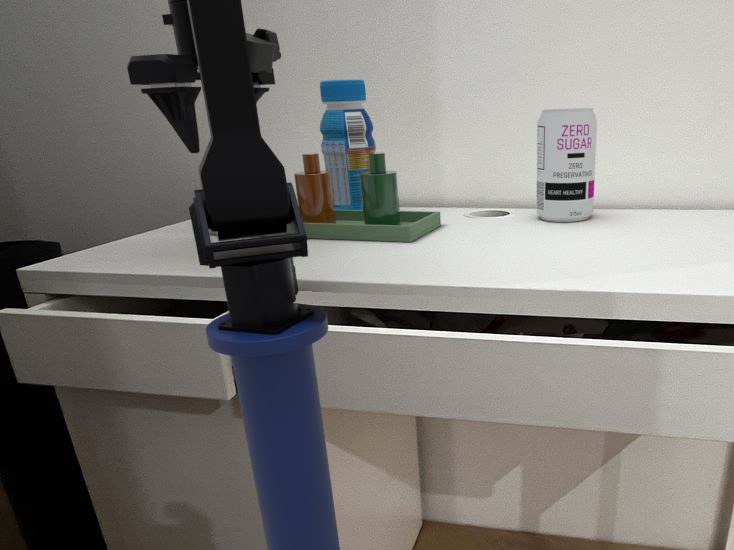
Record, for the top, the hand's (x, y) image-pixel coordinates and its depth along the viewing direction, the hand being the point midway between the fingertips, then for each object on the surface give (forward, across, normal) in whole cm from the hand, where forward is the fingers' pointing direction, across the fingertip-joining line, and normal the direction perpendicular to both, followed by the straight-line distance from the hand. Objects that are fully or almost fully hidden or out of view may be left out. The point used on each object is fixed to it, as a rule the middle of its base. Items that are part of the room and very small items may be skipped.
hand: (221, 149), depth 76 cm
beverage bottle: (+12, +25, -4) cm, 28 cm away
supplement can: (+12, +26, -38) cm, 48 cm away
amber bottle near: (+12, +12, -5) cm, 17 cm away
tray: (+12, +12, -6) cm, 18 cm away
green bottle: (+12, +12, -15) cm, 22 cm away
